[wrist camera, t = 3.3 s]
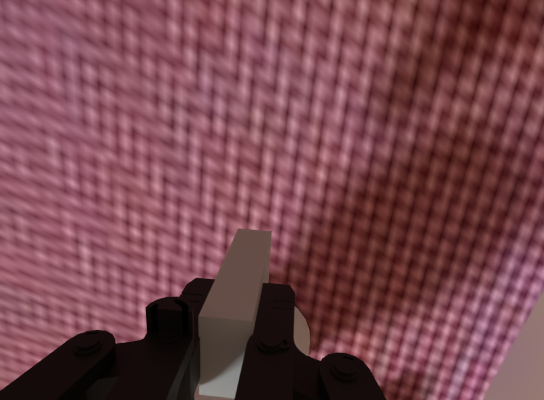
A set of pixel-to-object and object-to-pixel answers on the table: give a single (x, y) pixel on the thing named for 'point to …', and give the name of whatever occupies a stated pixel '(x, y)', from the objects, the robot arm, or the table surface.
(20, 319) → the table surface
